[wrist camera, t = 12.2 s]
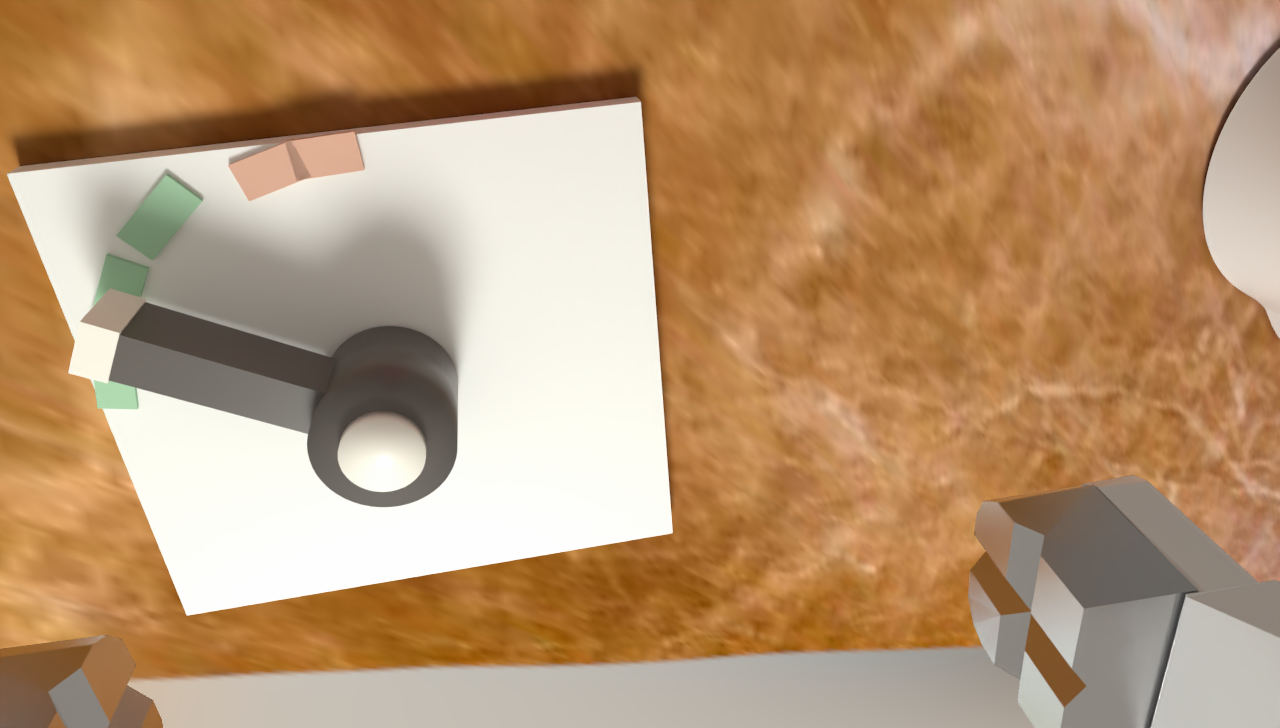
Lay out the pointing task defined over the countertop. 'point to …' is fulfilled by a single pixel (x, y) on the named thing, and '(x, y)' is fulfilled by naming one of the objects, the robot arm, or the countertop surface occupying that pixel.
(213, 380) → the dial
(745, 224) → the countertop surface
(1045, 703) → the robot arm
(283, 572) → the tuner board
